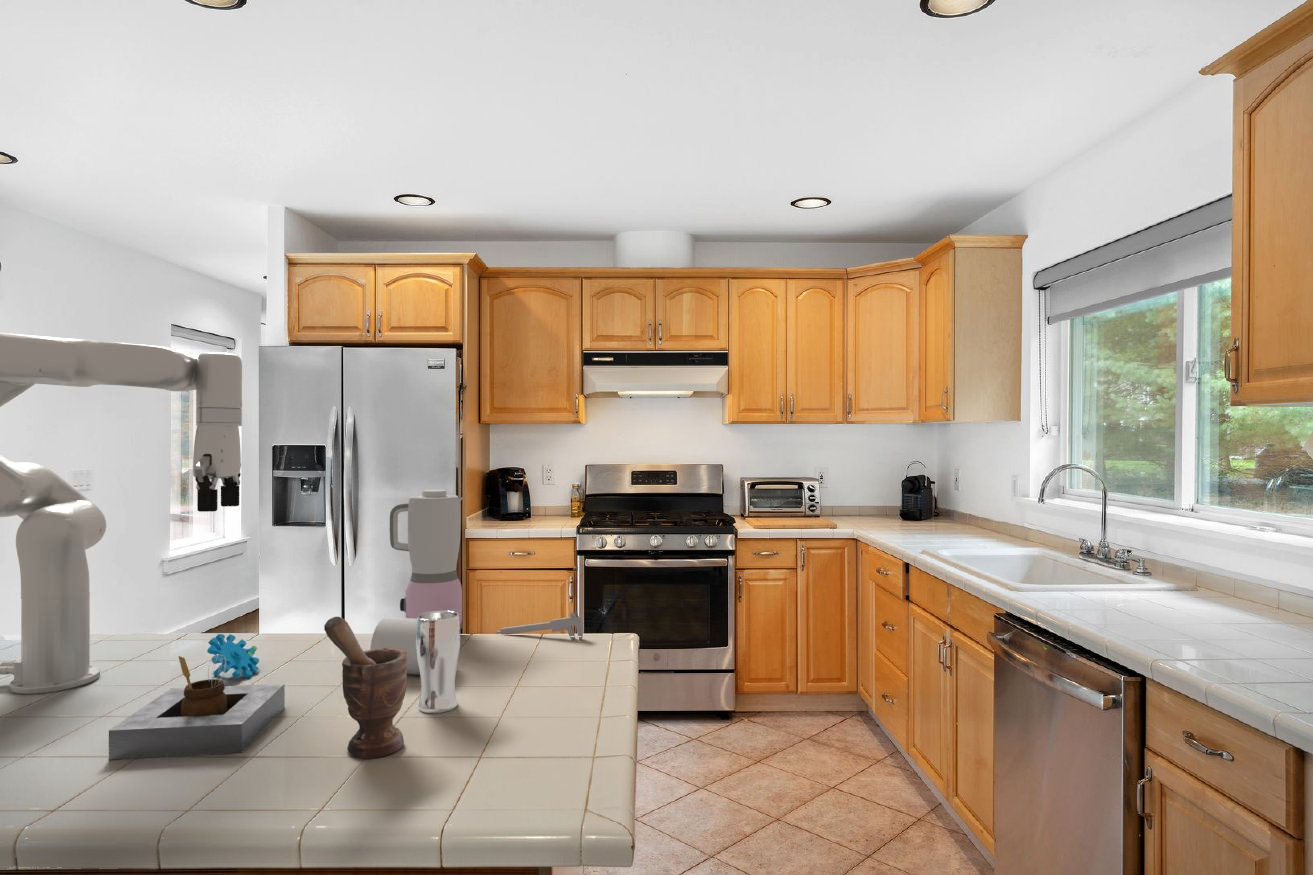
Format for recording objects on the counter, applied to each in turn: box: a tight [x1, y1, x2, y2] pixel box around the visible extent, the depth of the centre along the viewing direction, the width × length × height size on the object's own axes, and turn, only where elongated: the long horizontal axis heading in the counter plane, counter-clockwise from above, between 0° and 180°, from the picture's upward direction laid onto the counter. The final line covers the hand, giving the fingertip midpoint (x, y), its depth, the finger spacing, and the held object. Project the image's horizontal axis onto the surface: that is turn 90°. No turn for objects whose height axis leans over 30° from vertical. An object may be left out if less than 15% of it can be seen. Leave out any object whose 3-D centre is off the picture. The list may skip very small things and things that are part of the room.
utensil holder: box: [178, 655, 227, 717], centre depth 112 cm, size 6×6×12 cm
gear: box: [206, 633, 260, 679], centre depth 138 cm, size 11×6×10 cm
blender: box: [389, 489, 464, 630], centre depth 166 cm, size 16×12×32 cm
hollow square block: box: [108, 683, 286, 761], centre depth 111 cm, size 17×17×4 cm
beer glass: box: [416, 611, 461, 714], centre depth 122 cm, size 7×7×15 cm
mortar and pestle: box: [323, 616, 408, 759], centre depth 104 cm, size 12×9×20 cm
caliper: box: [494, 611, 584, 641], centre depth 165 cm, size 20×1×6 cm, turn 76°
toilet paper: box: [369, 617, 420, 676], centre depth 140 cm, size 10×10×10 cm
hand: (219, 508), depth 141 cm, fingers open, 9 cm apart
